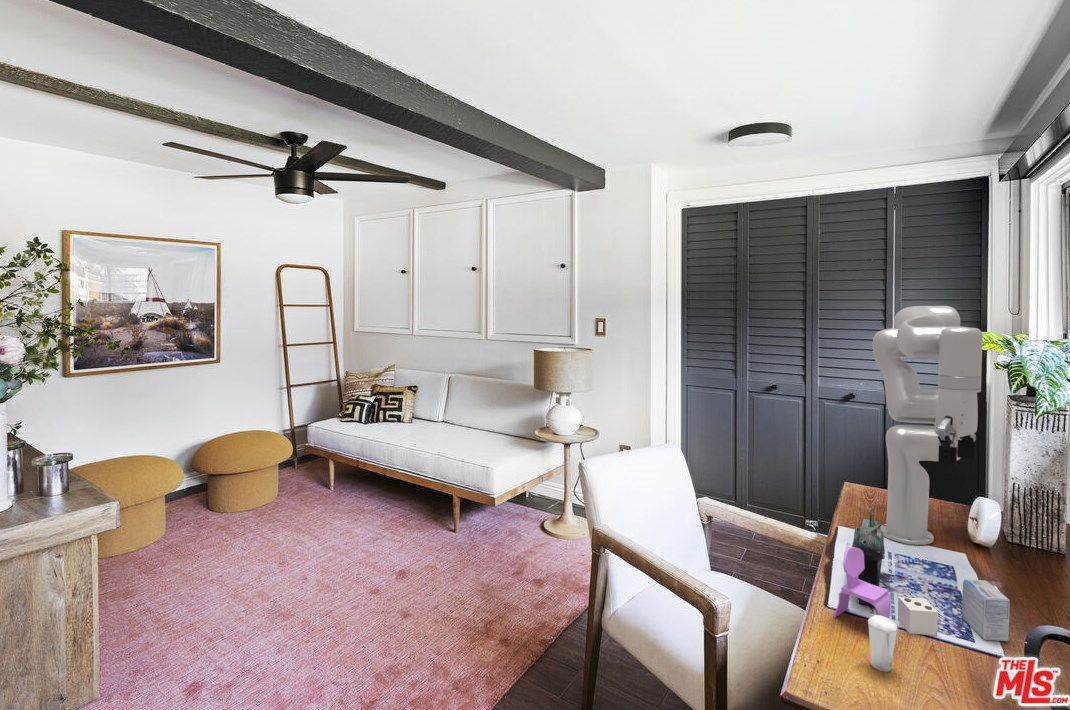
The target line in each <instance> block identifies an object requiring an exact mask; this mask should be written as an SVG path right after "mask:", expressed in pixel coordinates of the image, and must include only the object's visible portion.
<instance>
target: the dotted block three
mask: <svg viewBox="0 0 1070 710" xmlns="http://www.w3.org/2000/svg"><path fill="white" fill-rule="evenodd" d="M938 619H939V611H938V610H937V609H936V608H935V607H934V606H933V604H931V603H930V602H929V601H928V600H927V599H926V598H924V597H923V598H921V597H906V596H905V597H904V596H903V597H901V596H898V604H897V621H898V622H899V623H901V622H902V623H901V625H902V627H903V628H904V630H906V631H907V632H908V634H910V635H911V634H913V635H927V636H938V625H939V624H938V622H939V620H938Z"/></svg>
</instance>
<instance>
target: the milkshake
mask: <svg viewBox="0 0 1070 710" xmlns="http://www.w3.org/2000/svg"><path fill="white" fill-rule="evenodd" d="M899 623H900V622H899ZM901 623H902V622H901ZM901 623H900V624H898V626H897V624H896V623H895V622H894V621H893V620H892V619H890V617H889V618H887V617H884V616H880V615H878V614H876V615H872V616H871V617H869V618H868V620H867V625H868V626H867V627H868V637H869V654H870V665H871V666H872V667H873V668H874V669H876V670H878V671H880V672H884V673H887V672H891V671H892V666H893V665H892V664H893V657H894V650H895V643H896V639H897V633H898V629H899V628H900V625H902V624H901Z"/></svg>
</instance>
